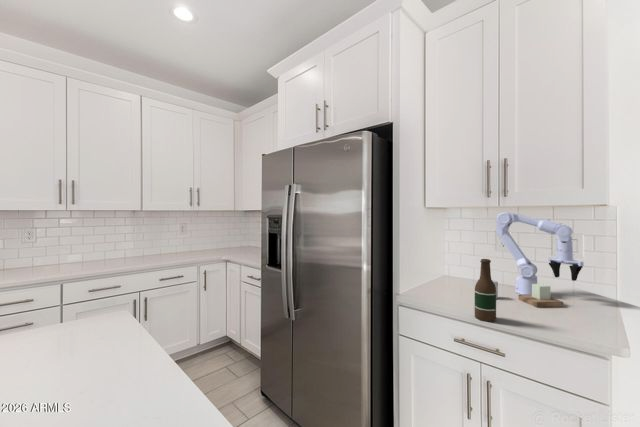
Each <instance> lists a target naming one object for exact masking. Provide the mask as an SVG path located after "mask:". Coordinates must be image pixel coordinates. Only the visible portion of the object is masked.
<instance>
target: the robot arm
mask: <svg viewBox="0 0 640 427" xmlns="http://www.w3.org/2000/svg"><path fill="white" fill-rule="evenodd" d="M495 222H496V223H495V225H496V226H495V227H496V229H495V231H496V234H497V235H498V236H499V239H501V241H502V242H503V245H504V246H505V247H506V248H507V250H508V251H509V253H510V254H511V256H512V258H513V259H514V260H515V262H516V264H517V267H518V268H519V274H520V275H518V276H517V277H516V278H515V290H513V292H515V293H517V294H518V295H521V294H532V284H538V276H537V275H536V274H537V273H538V267H537V265H536V264H534V263H533V262H531V260H530V259H529V258H528V257H527V256H526V255H525V253H524V252H523V250H522V249H521V248H520V246H519V245H518V243H517V242H516V241H515V240H514V238H513V236H512V234H511V233H510V232H509V230H510V226H511V225H512V224H513V223H518V222H519V223H522V224H527V225H530V226H534V227H537V228H538V231H541V232H545V233H547V234H549V235H553V236H554V235H556V236H557V240H556V248H557V249H556V252H557V253H556V254H557V257H547V262H548V265H549V267H550V268H551V270H552V272H553V276H554V278H560V270H561V264H563V265H564V264H565V265H568V266H569V269H570V275H571V281H573V282H574V281H577V279H578V275H579V274H580V272H581V270H582V269H583V267H584V261H581V260H575V259H574V258H573V257H574V254H573V253H574V252H573V241H572V240H573V237H572V235H573V229H572V227H570V226H569V225H566V224H563V225H562V223H560V222H555V221H551V220H550V219H541V220H538V219H535V218H532V217H530V216H529V217H528V216H525V215H523V214H521V213H520V214H518V213H513V212H508V211H507V212H500V213H499V214H498V215H497V217H496V219H495Z"/></svg>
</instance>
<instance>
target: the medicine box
mask: <svg viewBox="0 0 640 427" xmlns="http://www.w3.org/2000/svg"><path fill="white" fill-rule="evenodd" d="M479 279H480V278H478V279H477V281H478V280H479ZM491 280H492V281H493V283H494V284H495V287H496V300H497V299H498V296H499V294H498V293H499V287H498V286H499V282H498V280H495V279H491Z"/></svg>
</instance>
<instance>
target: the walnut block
mask: <svg viewBox="0 0 640 427" xmlns="http://www.w3.org/2000/svg"><path fill="white" fill-rule="evenodd" d="M518 300H519V301H521V302H524V303H525V304H528V305H530V306H533V307H535V308H537V309H541V308H546V309H547V308H549V309H550V308H564V301H562V300H559V299H557V298H554V297H552V296H550V299H545V300H540V299H537V298H534V297H532V294H518Z"/></svg>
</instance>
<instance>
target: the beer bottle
mask: <svg viewBox="0 0 640 427" xmlns="http://www.w3.org/2000/svg"><path fill="white" fill-rule="evenodd" d="M491 263H492V261H491V260H490V259H488V258H481V259H480V274H479V278H478V279H479V280H478V279H477V281H476V283H475V286H474V318H475V319H477V320H478V321H480V322H487V323H493V322H495V321H496V319H497V299H496V287H495V284H494V283H493V281H492V280H493V279H492V276H491V272H492V271H491Z"/></svg>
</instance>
